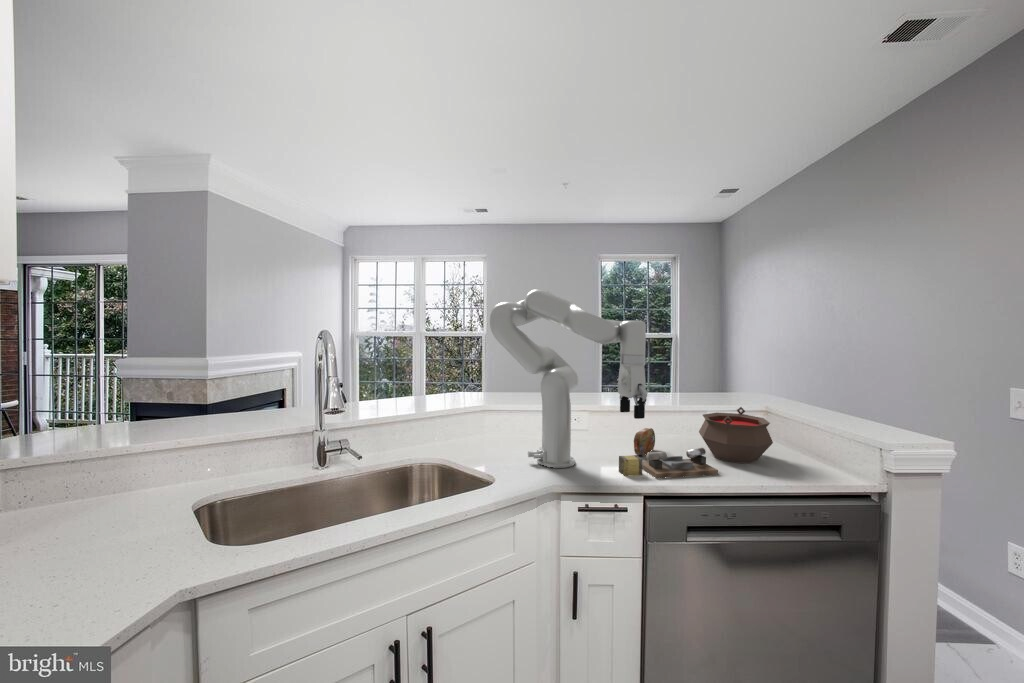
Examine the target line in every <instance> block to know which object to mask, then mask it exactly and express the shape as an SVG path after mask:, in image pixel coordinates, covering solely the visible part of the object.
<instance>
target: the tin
mask: <svg viewBox="0 0 1024 683" xmlns="http://www.w3.org/2000/svg"><path fill="white" fill-rule="evenodd" d="M655 434H656V433H655V431H654V429H653V428H648V427H647V428H643V429H641V430H639V431H637V432H636V433H635V434H634V437H633V451H634V453H635V455H637V456H641V455H642V456H641V457H645V456H646V455H645V454H647V453H648V452H650V451H651V450H652V451H654V450H655V449H654V448H655V443H656V435H655ZM652 451H651V452H652ZM644 455H645V456H644Z"/></svg>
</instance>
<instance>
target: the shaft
mask: <svg viewBox="0 0 1024 683" xmlns="http://www.w3.org/2000/svg"><path fill="white" fill-rule="evenodd" d="M706 453H707V452H706V449H705V448H704V447H697V448H694V449H689V450H686V457H687V459H691V461H692V462H693V463H696V464H699V465H704V464H707V456H705V455H706Z"/></svg>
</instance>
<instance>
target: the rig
mask: <svg viewBox="0 0 1024 683" xmlns="http://www.w3.org/2000/svg"><path fill="white" fill-rule="evenodd" d="M646 459H647V460H644V461H642V471H644V472H646V473H647V474H648V473H649V475H650V476H651V475H652V477H653V476H654V477H655V478H654V477H653V478H654V479H656V478H659V479H666V478H665V477H675V478H686V477H685V476H691V477H704V476H703V475H706V476H717V475H716V474H718V475H719V469H717V468H716V467H714V466H711V465H709V464H707V463H706V464H704V465H699V464H696V463H693V462H692V461H691V458H683V456H682V455H675V456H674V455H673V456H671V455H670V456H668V455H667V452H666V451H655V452H654V451H651V452H649V453H647V455H646ZM683 476H684V477H683Z"/></svg>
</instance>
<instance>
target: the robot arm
mask: <svg viewBox="0 0 1024 683" xmlns="http://www.w3.org/2000/svg"><path fill="white" fill-rule="evenodd" d="M490 311H491V312H490V314H489V328H490V331H491V333H492V335H493V336H494V338H495V340H496V341H497V342H498V343H499V344H500V345H501V346H502V348H504V349H505V351H507V352H508V353H509V354H510V355H511V357H513V359H515V361H516V362H518V364H519V365H520V366H521V367H522V368H523V369H524V370H525V371H526V372H527V373H529V374H533V375H538V374H541V375H542V378H541V381H540V394H541V404H542V405H541V407H542V410H541V411H542V412H541V413H542V414H541V416H542V417H541V418H542V419H541V430H542V431H541V447H539V449H537V450H536V451H533V450H531V451H527V457H528V458H532V459H534V460H535V459H536V460H537V461H536V462H537V463H538V465H540V464H541V465H540V466H542V465H544V466H543V467H545V466H547V467H546V468H550V467H553V468H552V469H566V468H571V467H572V466H574V465H575V464H576V459H575V458H574V457H572V456H571V446H572V445H571V441H572V440H571V437H572V436H571V434H572V433H571V431H572V429H571V428H572V427H571V426H572V425H571V424H572V405H571V404H572V402H571V398H570V397H571V396H570V393H572V392H573V391H575V389H577V387H578V385H579V384H578V383H579V376H578V374H577V372H576V370H575V369H574V368H573V367H572V366H571V365H570V364H569V363H568V362H567V361H566V360H565V359H564V358H563V357H561V355H560V354H559V353H558V352H557V351H555V349H553V348H551V347H550V346H548V345H543V344H542V345H538V344H537V343H535V342H534V341H533V340H532V339H530V337H529V336H528V335H527V334H526V333H525V332H524V331H522V330H521V329H519V328H518V327H521V326H525V325H527V324H530V323H532V322H534V321H537V320H540V319H541V318H542V319H545V320H547V321H549V322H552V323H554V324H556V325H557V326H560V327H563V328H565V329H567V330H568V331H570V332H573V333H575V334H576V335H578V336H581V337H583V338H585V339H588V340H590V341H592V342H594V343H596V344H600V345H608V344H615V343H616V344H617V343H620V348H619V349H620V353H619V354H620V355H619V356H620V358H619V372H618V383H617V393H618V394H619V411H620V413H629V412H630V411H631V399H633V401H634V405H633V418H634V419H636V420H639V419H645V414H646V413H645V411H646V409H645V408H646V407H645V406H647V404H646V402H647V397H648V391H647V390H646V371H645V366H646V339H647V338H646V337H647V336H646V333H647V330H646V329H647V328H646V322H645V321H642V320H614V319H606V318H603V317H600V316H597V315H595V314H593V313H590V312H588V311H586V310H584V309H582V308H580V307H579V306H578V305H577V304H576V303H574V302H573V301H570V300H567V299H565V298H562V297H560V296H557V295H555V294H554V293H552V292H550V291H548V290H544V289H536V288H535V289H532V290H531V291H529V292H528V293H527V294H526V296H525V298H524V299H523V300H520V301H518V302H514V301H513V302H512V301H503V302H500V303H498V304H495V306H494V307H493V308H492V310H490Z"/></svg>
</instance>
